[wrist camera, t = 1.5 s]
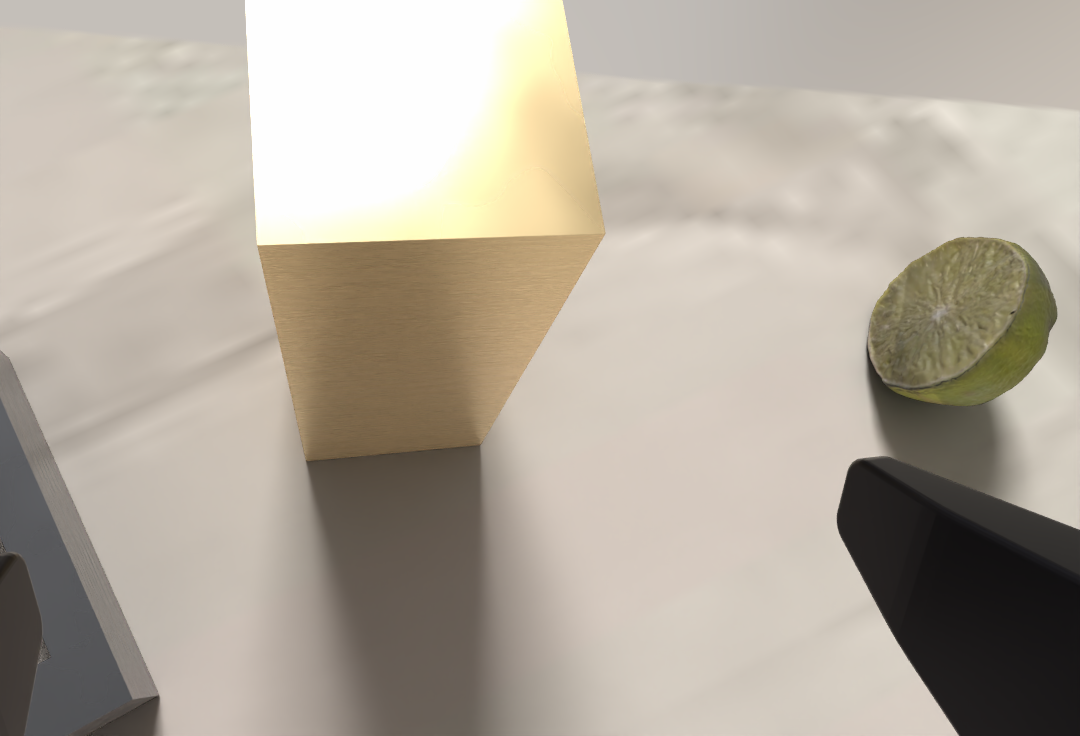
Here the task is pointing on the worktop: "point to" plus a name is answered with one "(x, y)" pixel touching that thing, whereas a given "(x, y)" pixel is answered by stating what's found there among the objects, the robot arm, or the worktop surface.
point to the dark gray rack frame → (63, 586)
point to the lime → (962, 323)
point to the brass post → (415, 208)
